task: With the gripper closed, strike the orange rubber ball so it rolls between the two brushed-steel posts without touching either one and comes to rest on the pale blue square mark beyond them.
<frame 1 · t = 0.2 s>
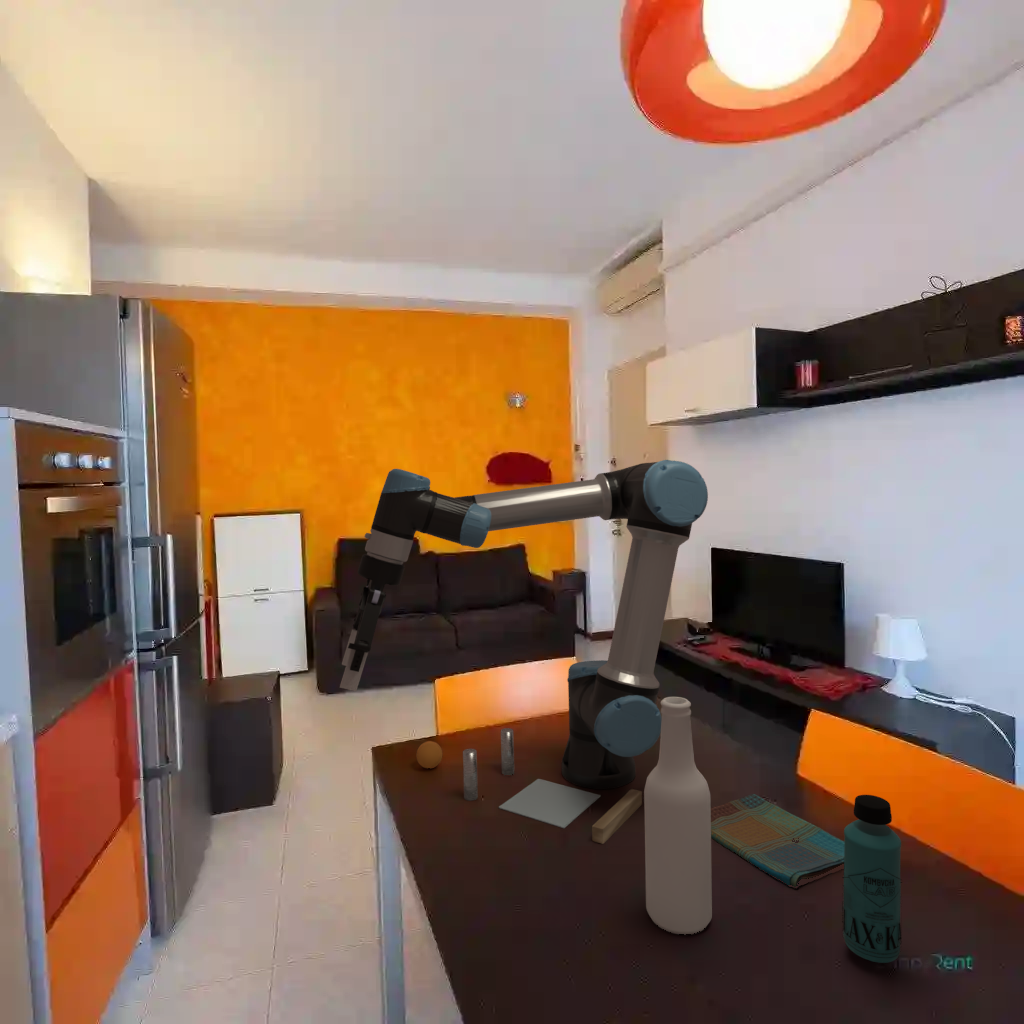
hand: (348, 677, 114), 28 cm above the table, tool tilted 20°, fingers open, 13 cm apart
post left: (470, 797, 128), on the table
dish towel: (771, 844, 110), on the table
beverage bottle: (872, 959, 83), on the table
alcohol: (678, 917, 91), on the table
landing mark: (550, 802, 125), on the table
post right: (508, 773, 138), on the table
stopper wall: (618, 821, 117), on the table
ball: (429, 754, 142), on the table
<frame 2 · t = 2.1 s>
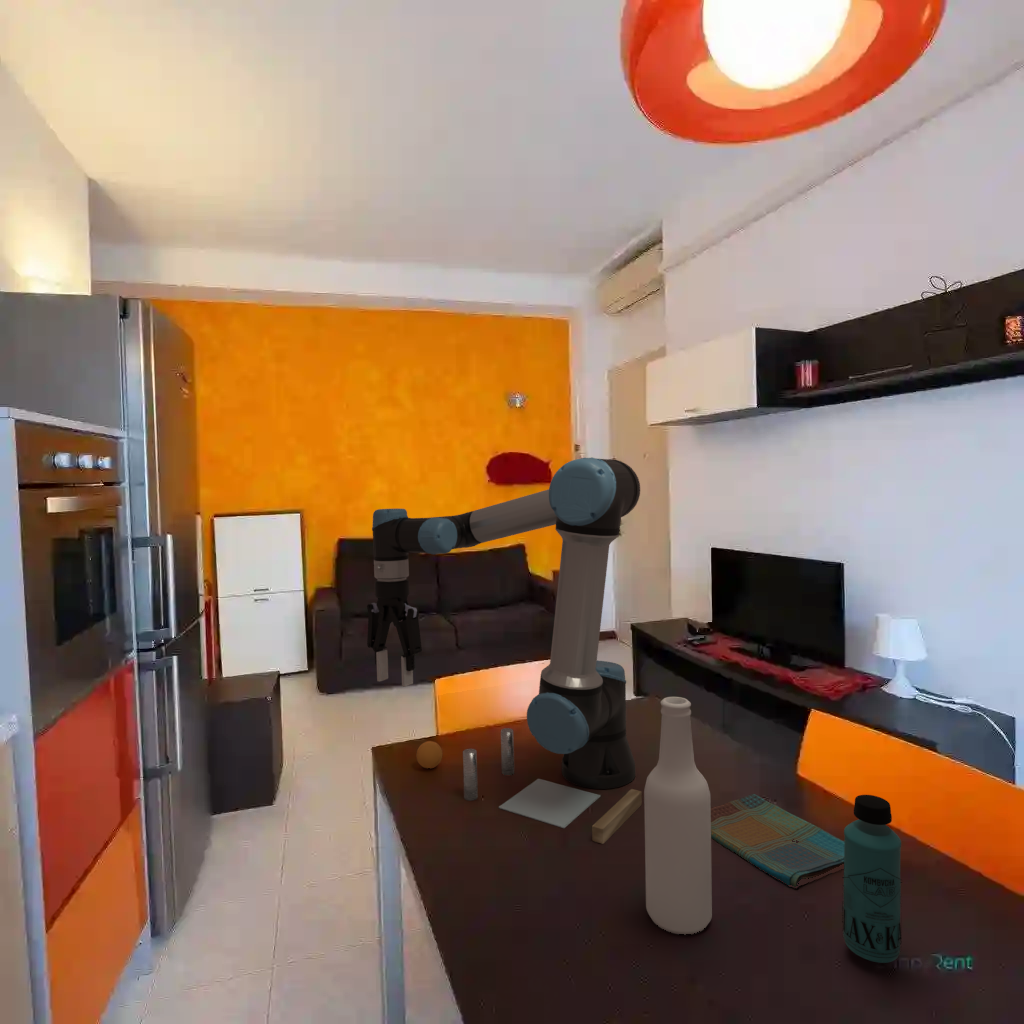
hand: (395, 682, 147), 17 cm above the table, tool pointing down, fingers open, 7 cm apart
nothing on the table moved.
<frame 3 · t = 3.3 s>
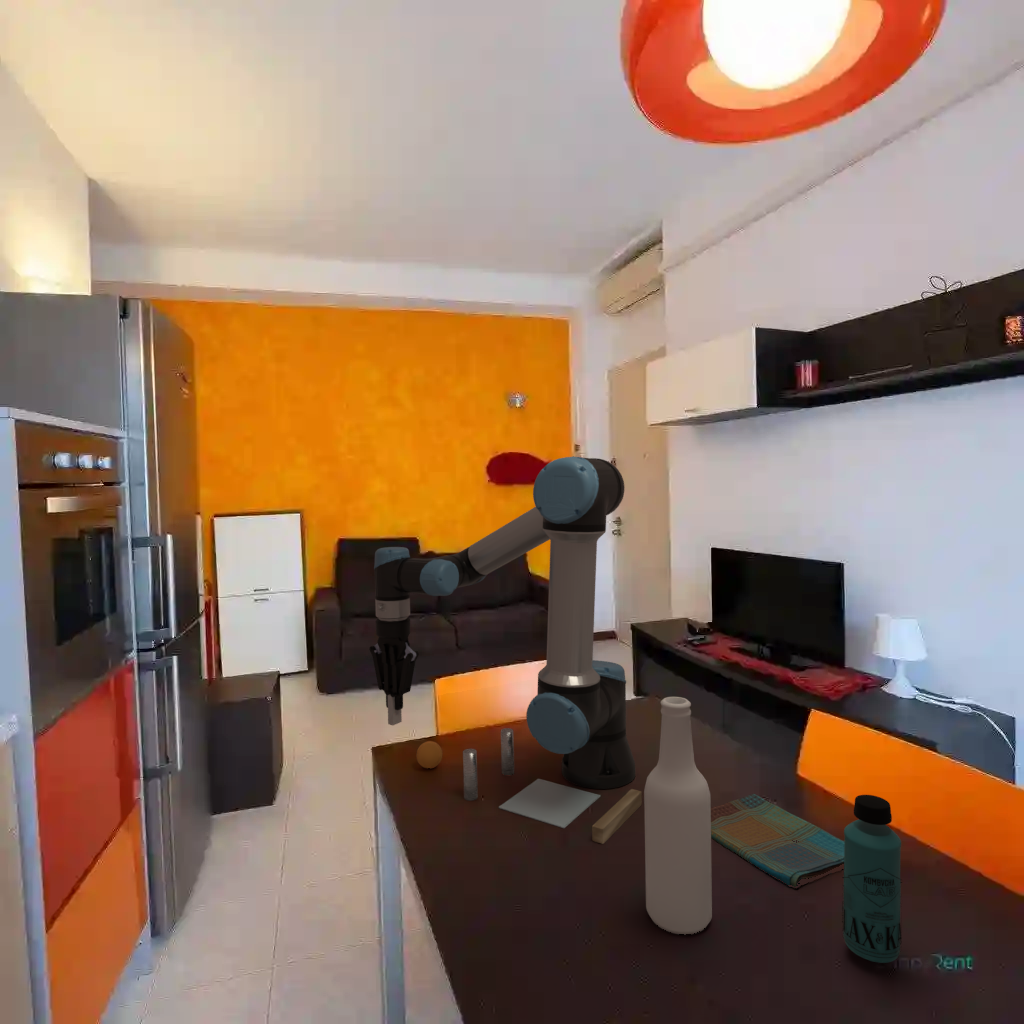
hand: (394, 722, 147), 8 cm above the table, tool pointing down, fingers closed
nothing on the table moved.
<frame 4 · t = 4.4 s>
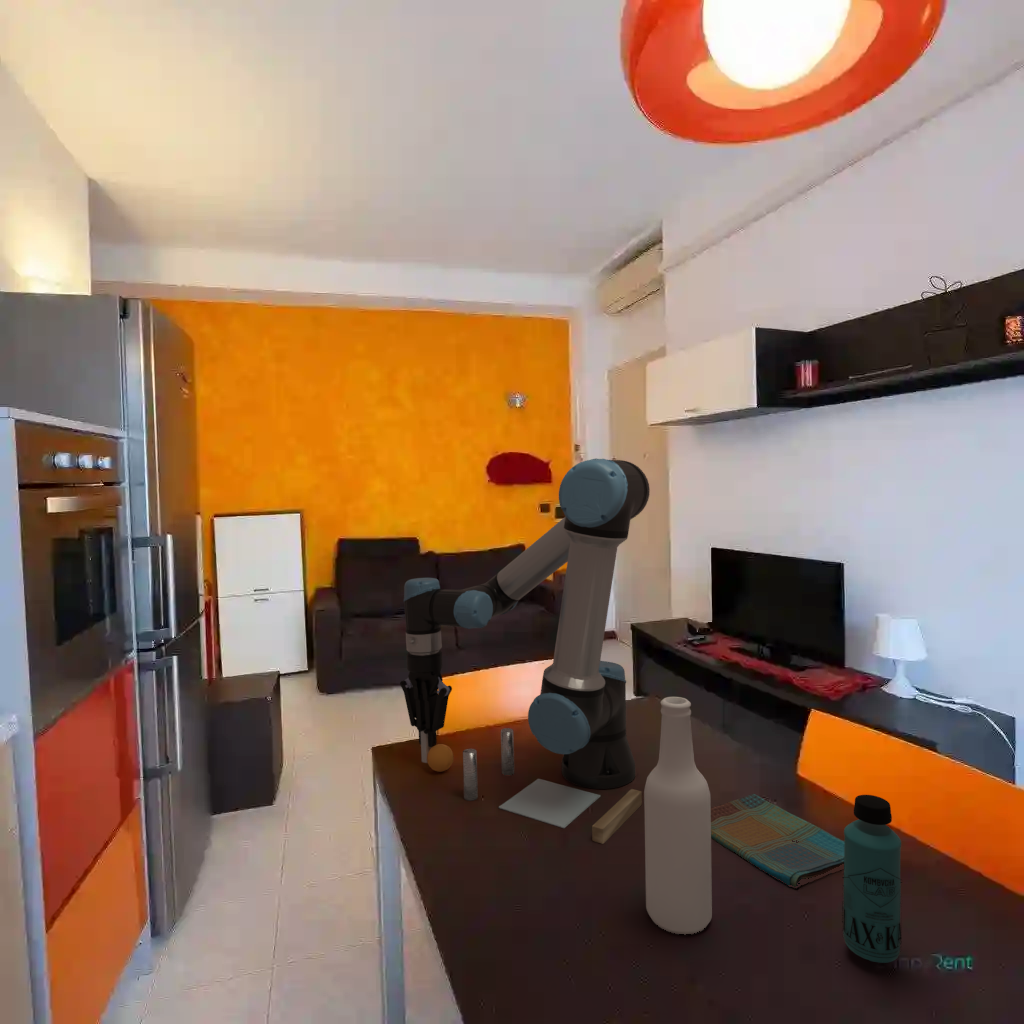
hand: (428, 760, 142), 1 cm above the table, tool pointing down, fingers closed
ball: (440, 757, 140), on the table
everything else where it was.
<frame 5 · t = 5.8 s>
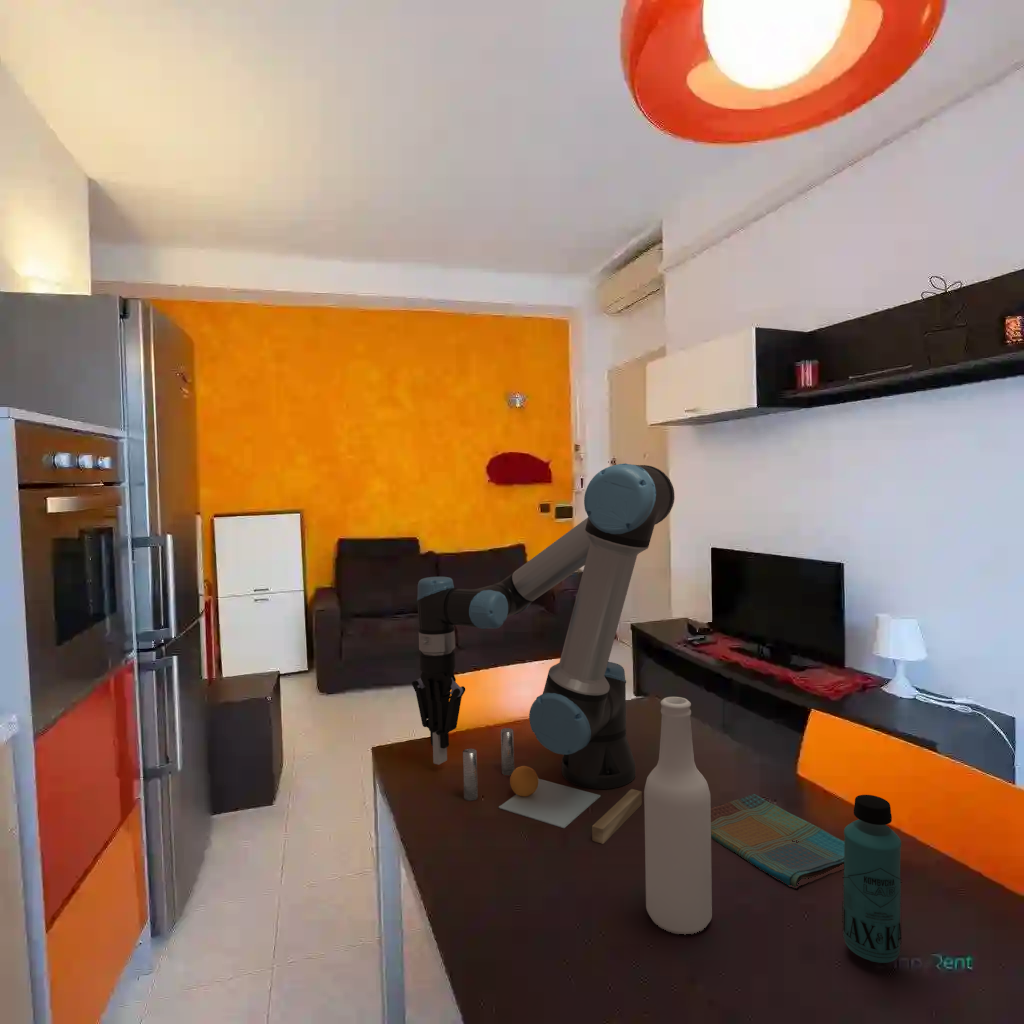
hand: (440, 761, 140), 2 cm above the table, tool pointing down, fingers closed
ball: (524, 781, 128), on the table
everything else where it was.
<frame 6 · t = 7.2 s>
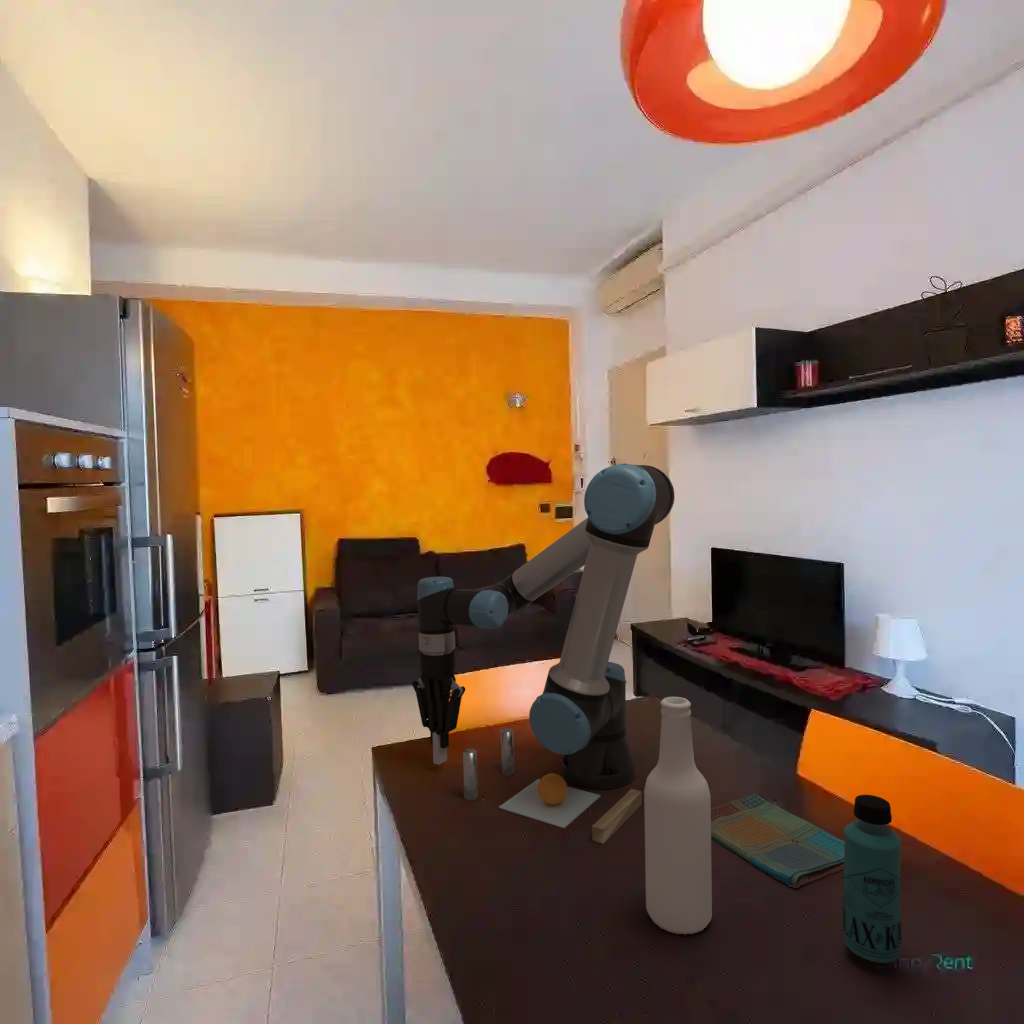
hand: (440, 761, 140), 2 cm above the table, tool pointing down, fingers closed
ball: (552, 788, 124), on the table
everything else where it was.
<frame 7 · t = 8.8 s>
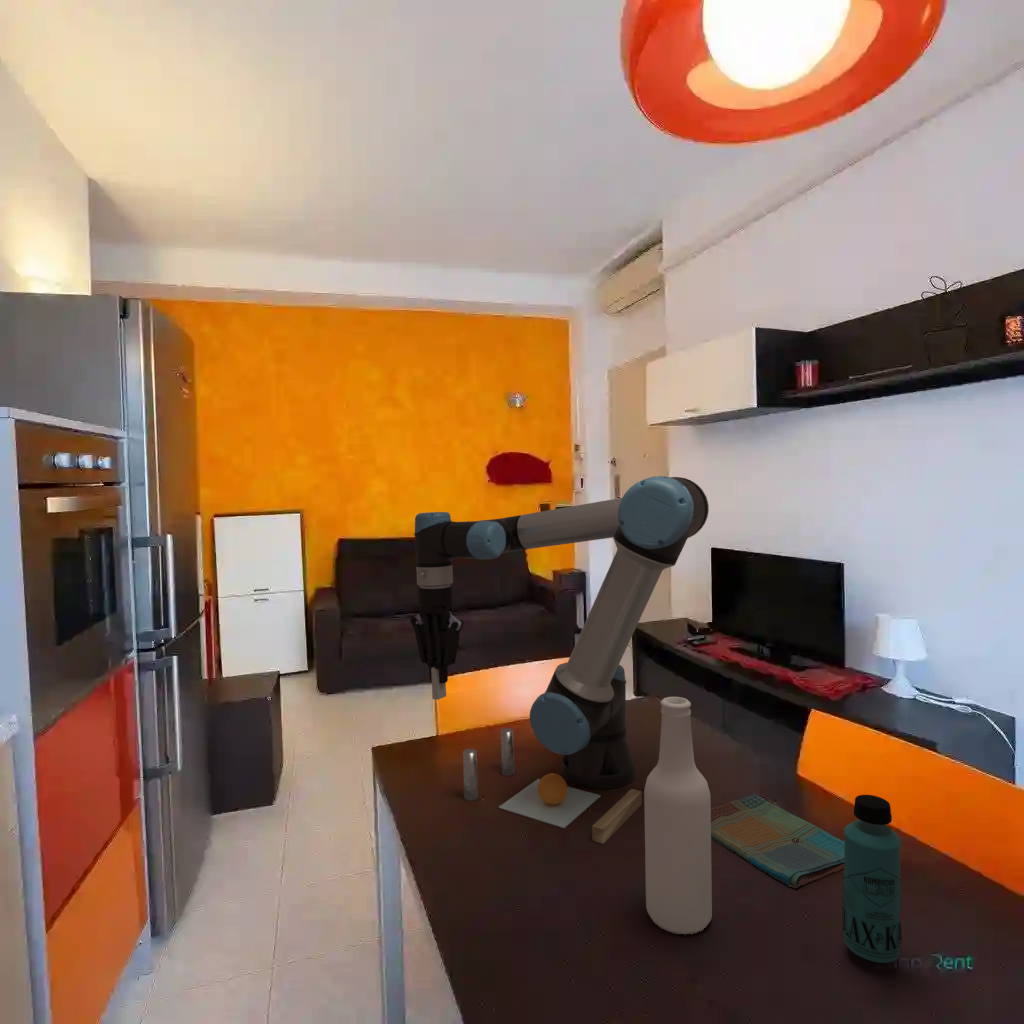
hand: (439, 697, 140), 16 cm above the table, tool pointing down, fingers closed
nothing on the table moved.
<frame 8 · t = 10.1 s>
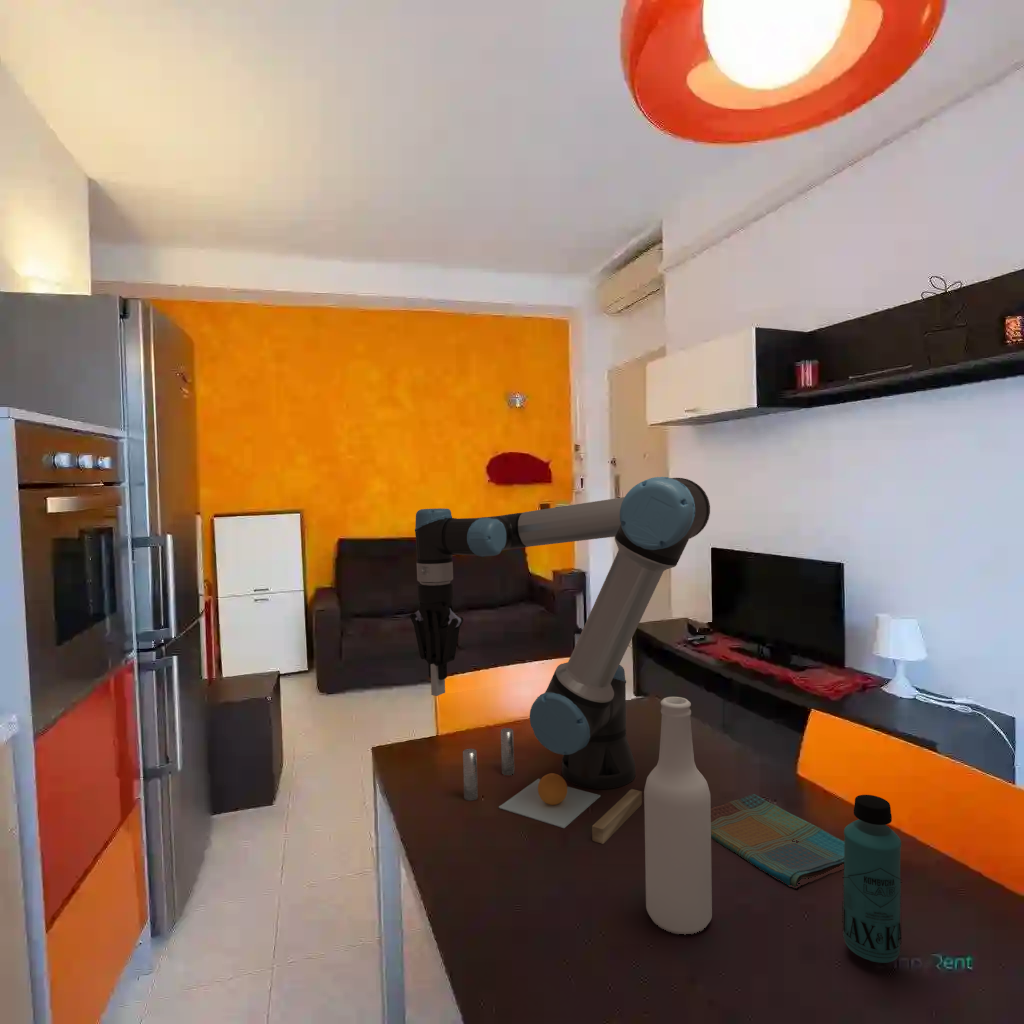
hand: (438, 693, 140), 16 cm above the table, tool pointing down, fingers closed
nothing on the table moved.
at the end: ball 0.7 cm from the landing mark (horizontally); ball never touched post left; ball never touched post right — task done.
